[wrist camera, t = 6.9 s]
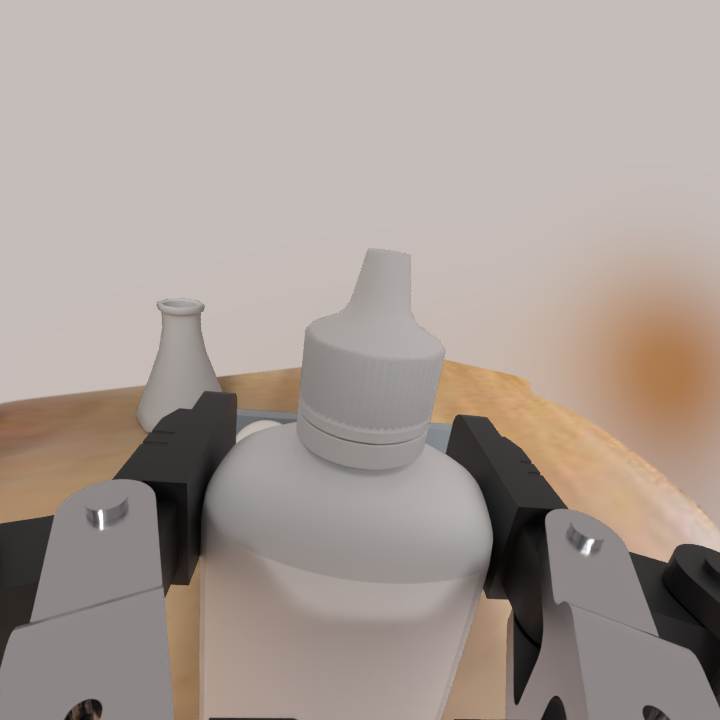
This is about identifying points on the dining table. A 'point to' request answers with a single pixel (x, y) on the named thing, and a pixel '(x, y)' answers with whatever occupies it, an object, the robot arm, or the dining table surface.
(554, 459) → the dining table surface
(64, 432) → the dining table surface
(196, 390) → the flask
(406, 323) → the eye dropper bottle
